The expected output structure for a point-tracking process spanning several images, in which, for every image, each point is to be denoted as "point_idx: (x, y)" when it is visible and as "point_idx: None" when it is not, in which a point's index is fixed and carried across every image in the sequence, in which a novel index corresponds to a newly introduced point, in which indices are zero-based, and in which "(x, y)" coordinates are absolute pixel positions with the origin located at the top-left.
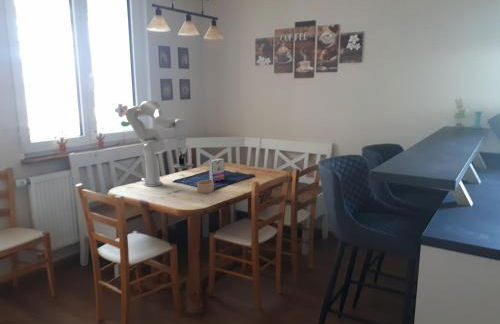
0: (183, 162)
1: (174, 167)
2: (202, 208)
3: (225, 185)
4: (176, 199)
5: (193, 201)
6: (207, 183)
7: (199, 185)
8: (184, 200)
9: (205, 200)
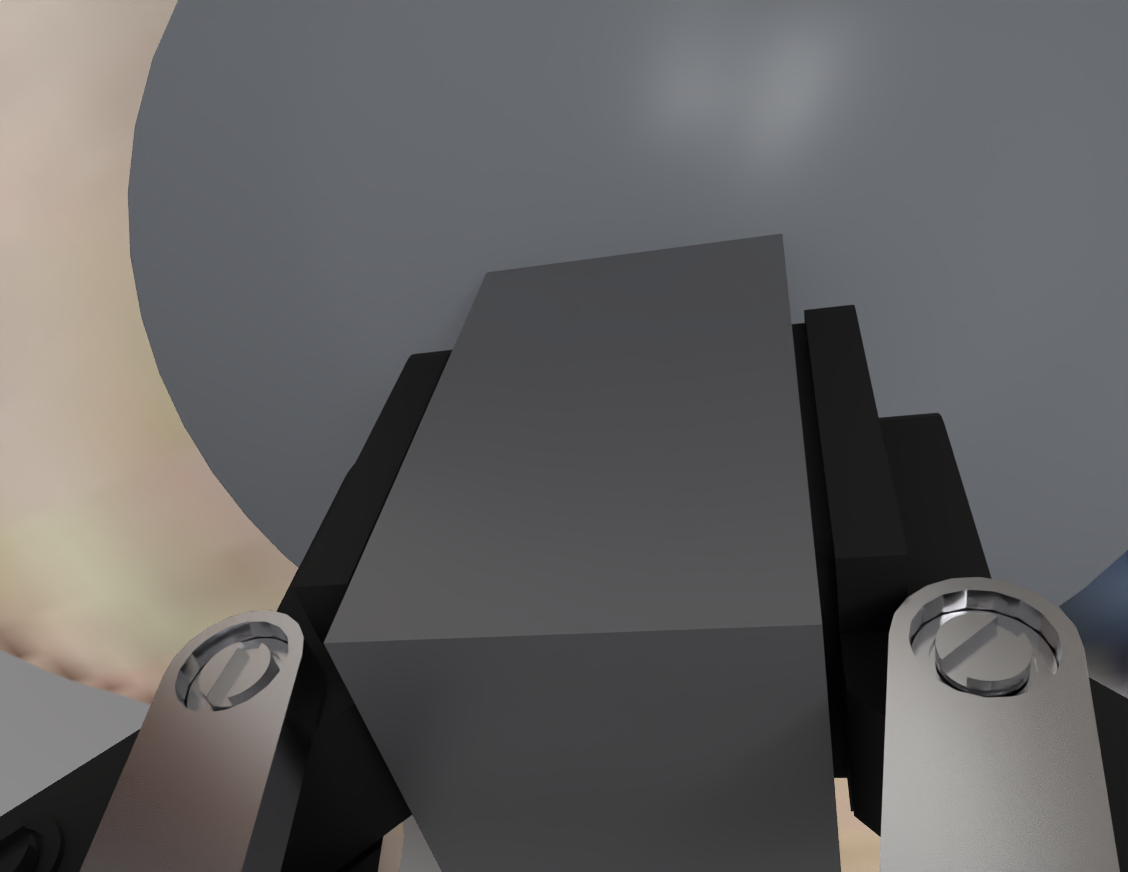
0: None
1: (150, 146)
2: (7, 648)
3: (1117, 659)
4: (55, 214)
5: (140, 491)
6: None
7: None
8: (98, 361)
9: (263, 605)
